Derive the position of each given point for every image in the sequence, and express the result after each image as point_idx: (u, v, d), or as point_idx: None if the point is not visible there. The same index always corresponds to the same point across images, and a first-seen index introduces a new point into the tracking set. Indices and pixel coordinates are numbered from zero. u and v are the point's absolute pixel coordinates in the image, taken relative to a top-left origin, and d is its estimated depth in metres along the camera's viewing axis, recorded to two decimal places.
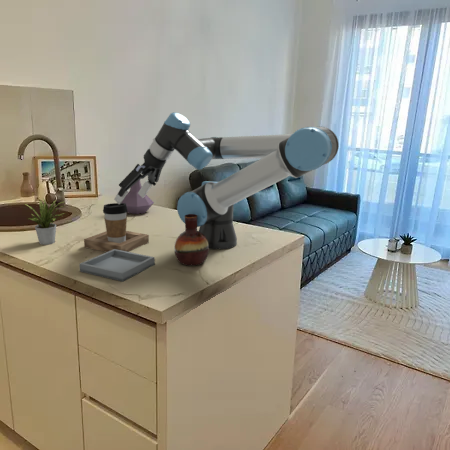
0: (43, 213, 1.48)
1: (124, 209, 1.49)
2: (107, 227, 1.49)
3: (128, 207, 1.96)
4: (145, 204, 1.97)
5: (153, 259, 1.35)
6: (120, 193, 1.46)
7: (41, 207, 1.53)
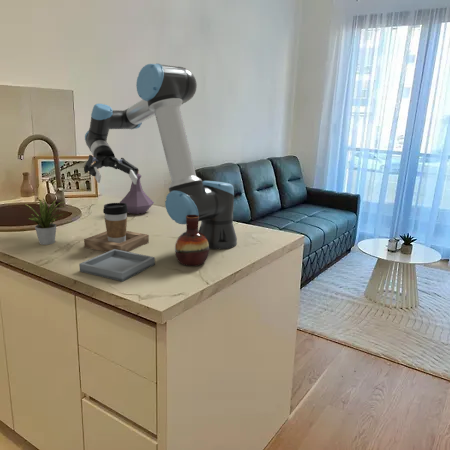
0: (43, 213, 1.48)
1: (124, 210, 1.48)
2: (107, 227, 1.49)
3: (128, 207, 1.96)
4: (145, 204, 1.97)
5: (153, 259, 1.35)
6: (91, 172, 1.52)
7: (41, 207, 1.53)
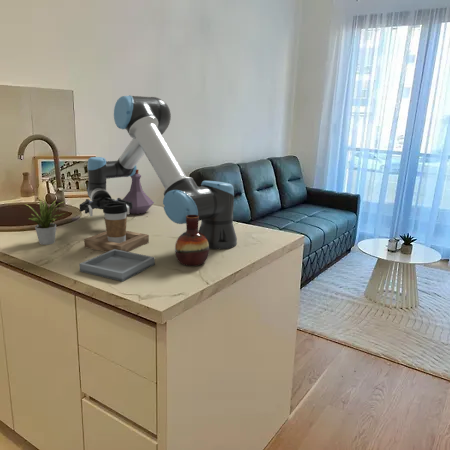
0: (43, 213, 1.48)
1: (124, 209, 1.49)
2: (107, 227, 1.50)
3: None
4: (145, 204, 1.97)
5: (153, 259, 1.35)
6: (85, 209, 1.61)
7: (41, 207, 1.53)
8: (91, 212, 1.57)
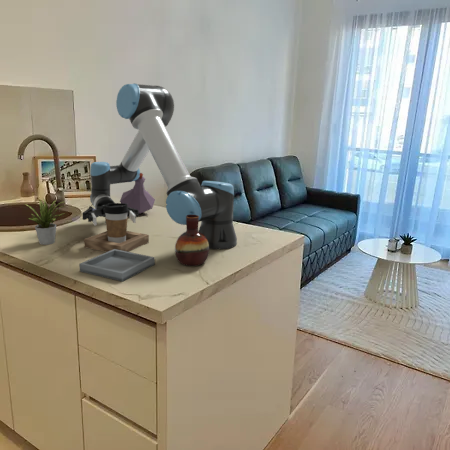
0: (43, 213, 1.48)
1: (125, 209, 1.49)
2: (107, 227, 1.49)
3: None
4: (148, 208, 1.96)
5: (153, 259, 1.35)
6: (89, 218, 1.51)
7: (41, 207, 1.53)
8: (95, 221, 1.47)
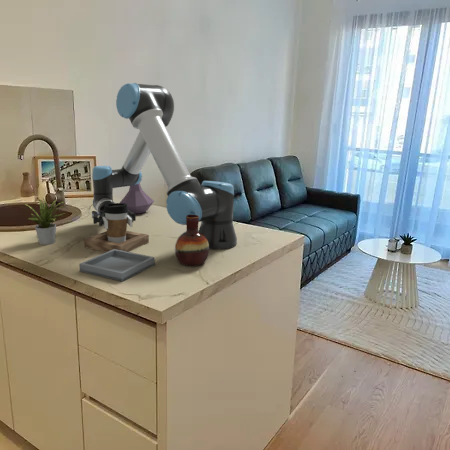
0: (43, 213, 1.48)
1: (124, 209, 1.49)
2: None
3: None
4: (144, 203, 1.97)
5: (153, 259, 1.35)
6: (100, 221, 1.49)
7: (41, 207, 1.53)
8: (106, 224, 1.45)
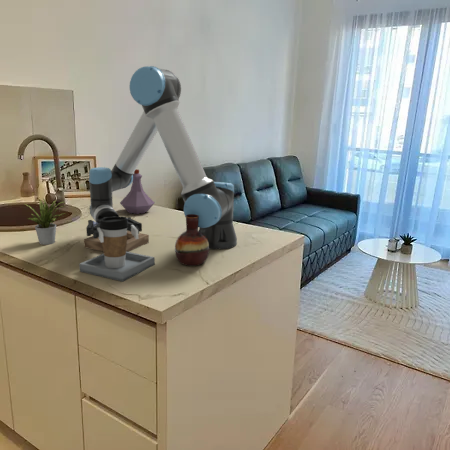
0: (43, 213, 1.48)
1: (124, 224, 1.27)
2: (104, 245, 1.28)
3: (128, 207, 1.96)
4: (144, 204, 1.97)
5: (153, 259, 1.35)
6: (94, 233, 1.26)
7: (41, 207, 1.53)
8: (102, 237, 1.23)
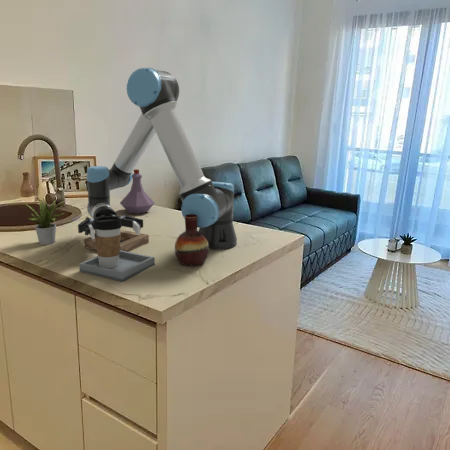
0: (43, 213, 1.48)
1: (117, 224, 1.26)
2: (97, 244, 1.28)
3: (128, 207, 1.96)
4: (144, 204, 1.97)
5: (153, 259, 1.35)
6: (85, 230, 1.29)
7: (41, 207, 1.53)
8: (93, 234, 1.25)
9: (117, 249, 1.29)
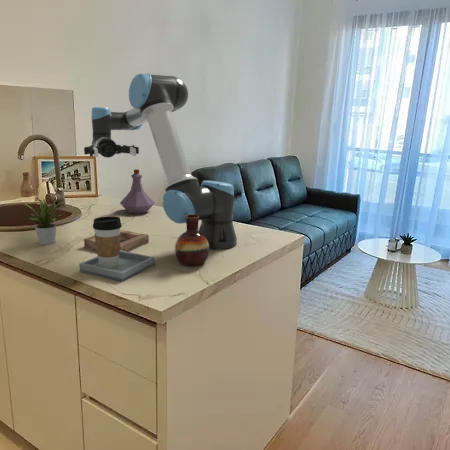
0: (43, 213, 1.48)
1: (116, 224, 1.26)
2: (97, 245, 1.28)
3: (128, 207, 1.96)
4: (144, 204, 1.97)
5: (153, 259, 1.35)
6: (90, 151, 1.55)
7: (41, 207, 1.53)
8: (96, 152, 1.52)
9: (117, 249, 1.29)
